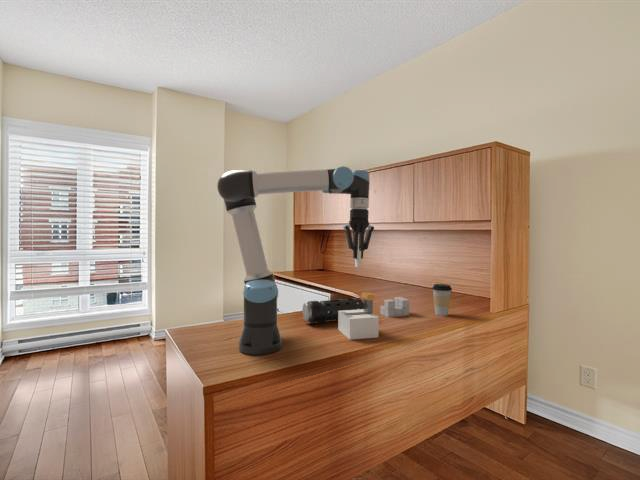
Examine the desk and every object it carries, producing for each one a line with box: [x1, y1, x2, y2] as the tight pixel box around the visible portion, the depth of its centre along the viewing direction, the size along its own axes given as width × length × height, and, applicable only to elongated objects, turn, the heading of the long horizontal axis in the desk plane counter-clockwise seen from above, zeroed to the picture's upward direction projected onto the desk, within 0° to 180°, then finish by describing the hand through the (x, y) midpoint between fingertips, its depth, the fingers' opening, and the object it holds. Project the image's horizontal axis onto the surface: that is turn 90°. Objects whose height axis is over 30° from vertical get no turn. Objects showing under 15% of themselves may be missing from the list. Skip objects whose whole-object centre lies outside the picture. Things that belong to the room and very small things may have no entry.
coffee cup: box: [431, 283, 453, 317], centre depth 165 cm, size 9×9×15 cm
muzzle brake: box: [301, 297, 363, 324], centre depth 152 cm, size 10×28×10 cm, turn 113°
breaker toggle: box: [361, 291, 376, 314], centre depth 135 cm, size 3×6×8 cm, turn 15°
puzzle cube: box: [380, 296, 410, 318], centre depth 168 cm, size 12×12×8 cm
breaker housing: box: [337, 308, 380, 340], centre depth 134 cm, size 12×14×8 cm
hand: (357, 266), depth 134 cm, fingers closed
